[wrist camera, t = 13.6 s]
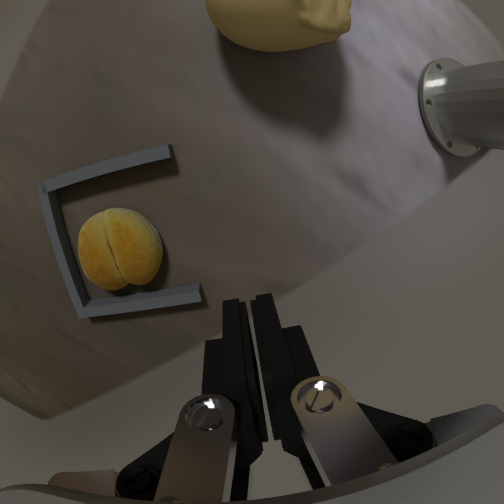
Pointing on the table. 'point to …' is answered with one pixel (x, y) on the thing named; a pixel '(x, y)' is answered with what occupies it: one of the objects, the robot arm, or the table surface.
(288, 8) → the pale yellow rounded lump
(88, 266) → the bread roll
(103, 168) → the bay
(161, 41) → the table surface
